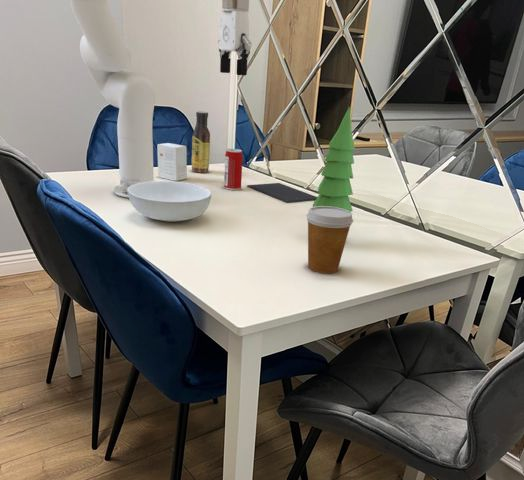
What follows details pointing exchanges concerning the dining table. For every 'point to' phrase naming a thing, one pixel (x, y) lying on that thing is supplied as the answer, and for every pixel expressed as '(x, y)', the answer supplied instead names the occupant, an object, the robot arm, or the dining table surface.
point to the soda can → (233, 169)
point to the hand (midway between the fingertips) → (233, 73)
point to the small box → (172, 161)
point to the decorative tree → (338, 169)
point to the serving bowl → (169, 200)
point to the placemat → (283, 192)
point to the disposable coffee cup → (327, 237)
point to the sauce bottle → (201, 144)
